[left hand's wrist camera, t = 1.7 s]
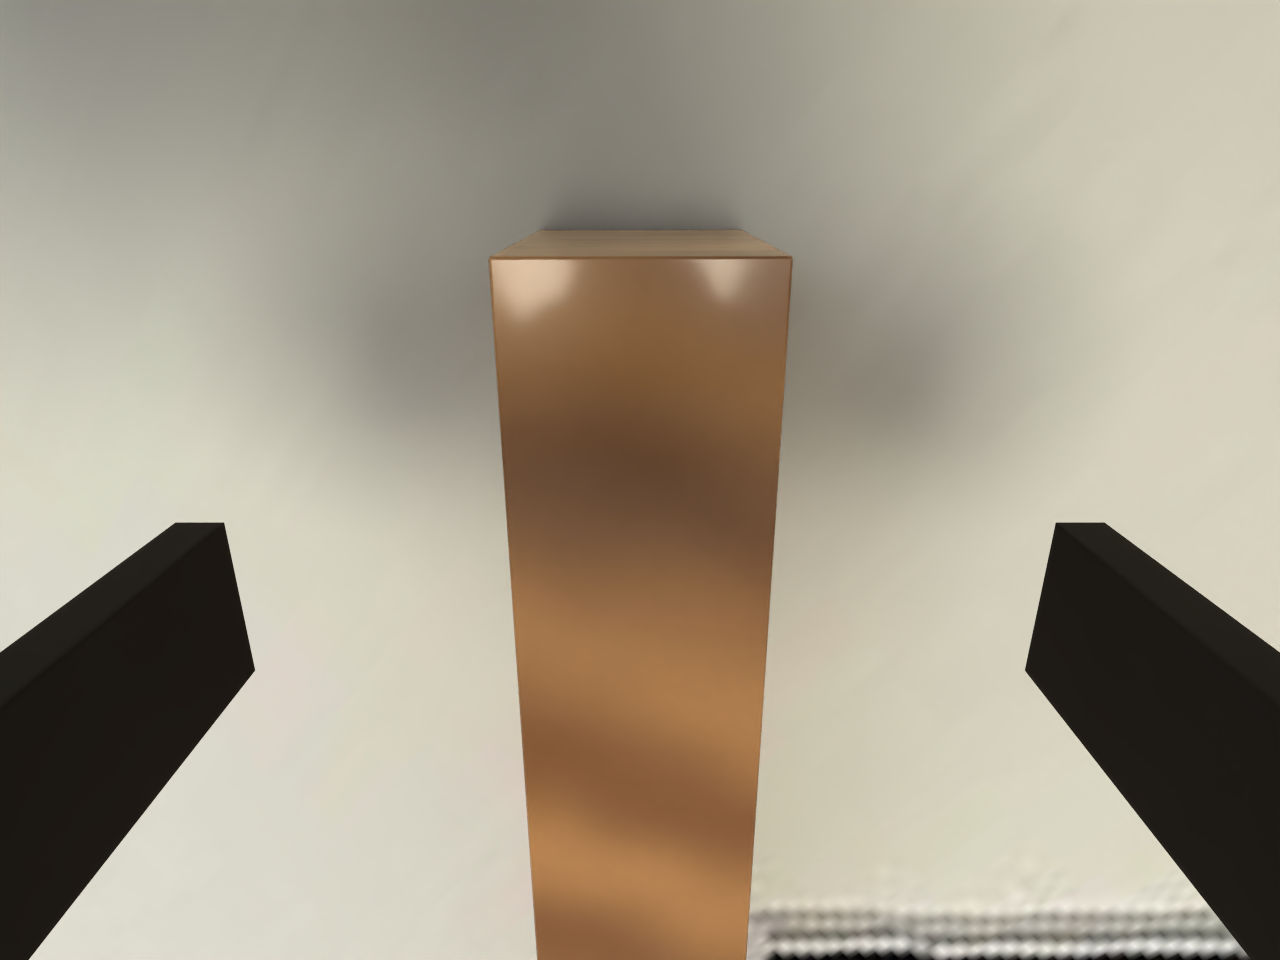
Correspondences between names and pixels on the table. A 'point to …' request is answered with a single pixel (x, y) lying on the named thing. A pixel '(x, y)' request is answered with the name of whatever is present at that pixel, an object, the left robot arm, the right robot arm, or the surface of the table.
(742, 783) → the beam
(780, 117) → the table surface
